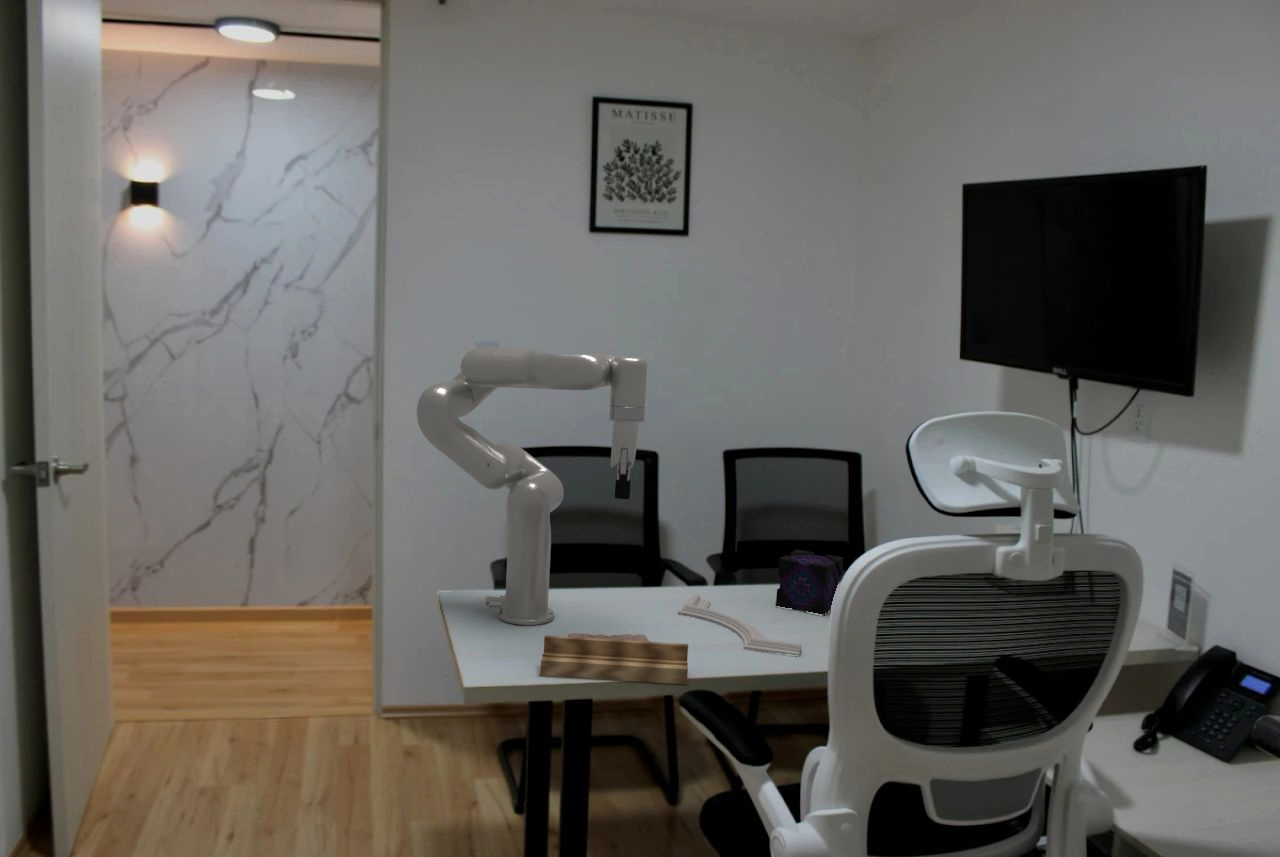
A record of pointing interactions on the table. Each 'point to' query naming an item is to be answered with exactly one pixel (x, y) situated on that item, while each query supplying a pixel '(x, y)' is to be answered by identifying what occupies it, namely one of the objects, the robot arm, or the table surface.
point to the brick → (615, 637)
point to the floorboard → (615, 659)
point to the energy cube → (808, 581)
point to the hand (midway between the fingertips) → (622, 498)
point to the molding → (737, 628)
